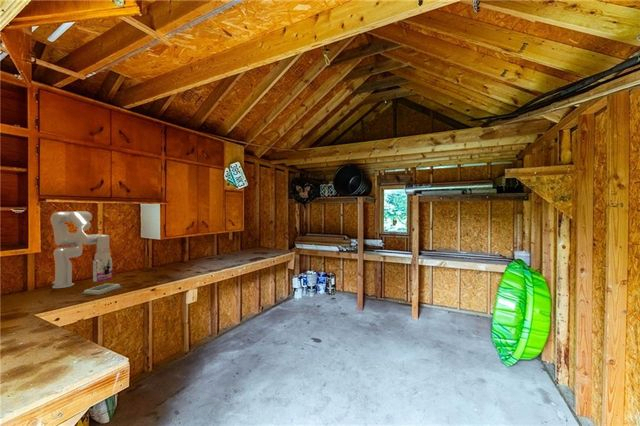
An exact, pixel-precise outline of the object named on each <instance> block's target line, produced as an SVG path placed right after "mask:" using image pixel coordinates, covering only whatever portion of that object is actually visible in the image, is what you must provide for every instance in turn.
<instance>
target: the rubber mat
mask: <svg viewBox="0 0 640 426" xmlns="http://www.w3.org/2000/svg"><path fill="white" fill-rule="evenodd" d="M105 288H108V287H103V288H100V289H97V290H102V289H105ZM122 288H124V285H123V286H122V285H120V287H117V288H114V289H111V290H109V291H106V292H103V293H100V294H93V293H84V291H83V292H80V293H79V295H88V296H89V295H90V296H92V295H93V296H101V294H102V295H104V293H105V294H108V293H111V292H113V290H114V291H116V290H119V289H122ZM110 291H111V292H110ZM107 292H108V293H107Z"/></svg>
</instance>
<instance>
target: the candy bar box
mask: <svg viewBox="0 0 640 426" xmlns="http://www.w3.org/2000/svg"><path fill="white" fill-rule="evenodd" d="M111 263H112V264H113V257H111ZM113 278H114V277H113V265H112V266H111V267H110V269H109V274H107V275H105V267H104V266H102V260H94V259H93V260H92V282H94V283H99V282H102V281H109V280H112V279H113Z"/></svg>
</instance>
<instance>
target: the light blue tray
mask: <svg viewBox="0 0 640 426" xmlns="http://www.w3.org/2000/svg"><path fill="white" fill-rule="evenodd" d="M120 286H121V284H119V283H104V284H100V285H97V286H96V285H95V286H93V287H90V288H87V289H84V290H83V292H84V293H93V294H100V293H103V292H106V291H109V290H111V289H114V288H117V287H120ZM103 287H108V288H105V289H102V290H97V289H100V288H103Z"/></svg>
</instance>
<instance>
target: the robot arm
mask: <svg viewBox="0 0 640 426" xmlns="http://www.w3.org/2000/svg"><path fill="white" fill-rule="evenodd" d="M92 219H93V214H92V213H91V212H89V211H86V210H85V211H84V210H83V211H82V210H81V211H79V210H78V211H74V210H73V211H57V212H54V213H52V214H51V215H50V224H51V226H52V229H53V236H54V243H55V245H56V246H61V247H57V248H55V249H54V250H53V253H52V254H53V257H54V265H55V266H54V280H53V281H52V282H51V284H53V285H52V289H64V288H69V287H73V286H74V285H75V283H74V282H72V281H73V280H72V279H73V278H72V277H73V272H72V271H73V264H72V261H71V260H70V259H72V258H77V257H80V256H81V255H82V254H83V245H86V246H88V245H89V246H90V245H96V249H95V251H96V252H95V254H94V257H93V258H94V259H93V260H102V266H104V267H105V275H107V274H109V269H110V267H111V266H112V267H113V262H112V263H111V258H112V257H111V252H110V235H109V234H101V233H96V234H95V233H93V234H87V233H85V231H87V230H89V229H90V228H91V226H92V225H91V224H92V223H91V222H90V221H92ZM65 223H72V225H74V226H75V228H76V232H70V231H69V226H68V225H67V224H65ZM68 245H69V246H68Z"/></svg>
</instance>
